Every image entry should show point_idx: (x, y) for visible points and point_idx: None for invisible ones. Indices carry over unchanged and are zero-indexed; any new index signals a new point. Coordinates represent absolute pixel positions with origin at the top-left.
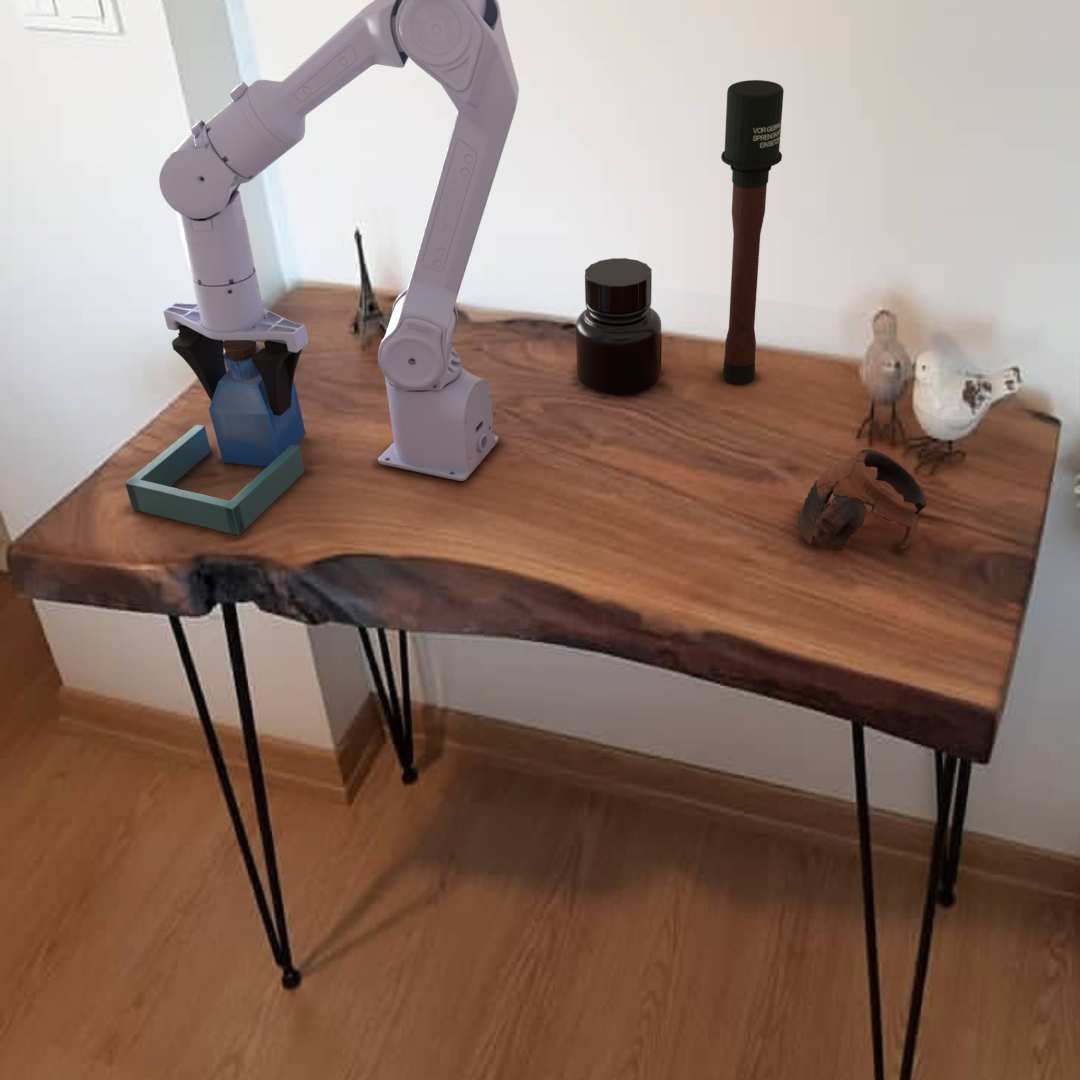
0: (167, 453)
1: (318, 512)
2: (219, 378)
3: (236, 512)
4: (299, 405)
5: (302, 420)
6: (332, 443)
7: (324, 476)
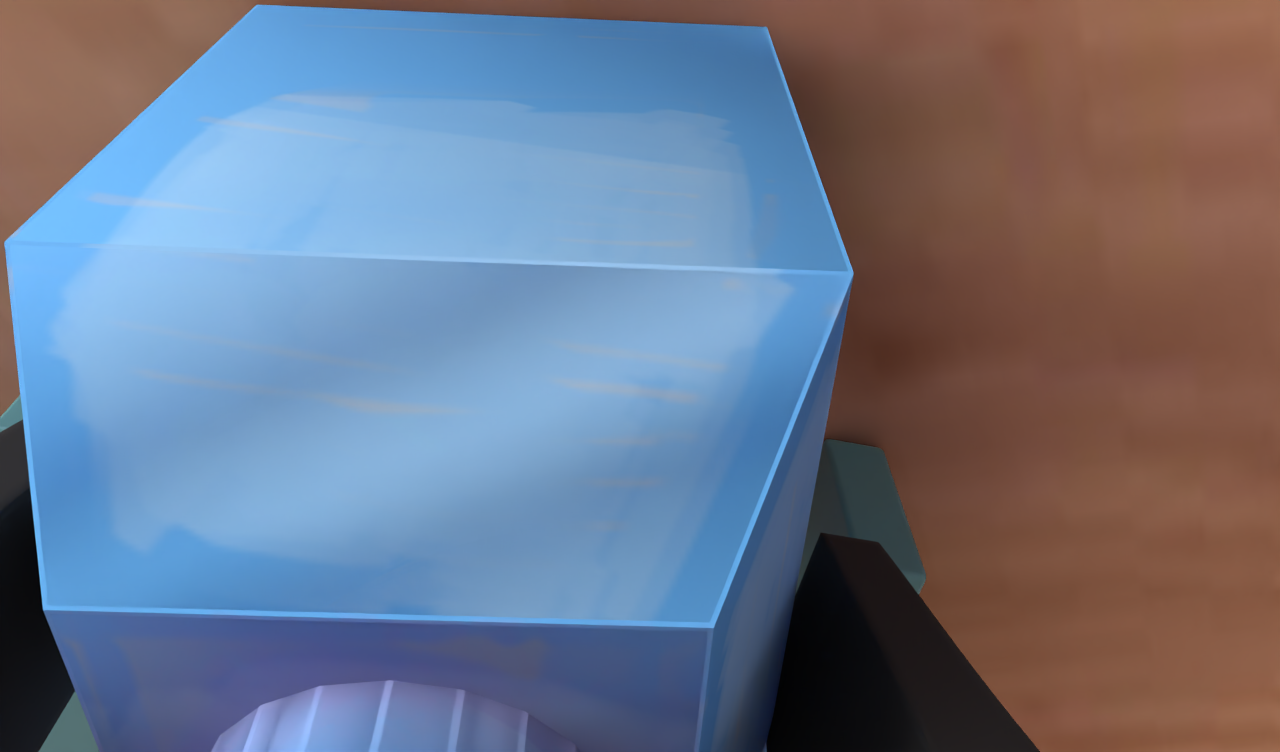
0: (73, 729)
1: (1033, 707)
2: (1, 639)
3: None
4: (801, 128)
5: (779, 70)
6: (1004, 104)
7: (1013, 461)
